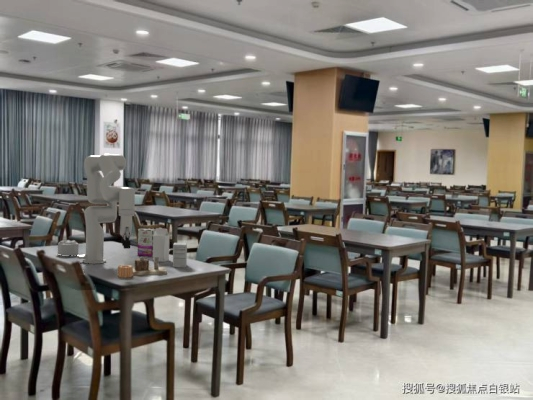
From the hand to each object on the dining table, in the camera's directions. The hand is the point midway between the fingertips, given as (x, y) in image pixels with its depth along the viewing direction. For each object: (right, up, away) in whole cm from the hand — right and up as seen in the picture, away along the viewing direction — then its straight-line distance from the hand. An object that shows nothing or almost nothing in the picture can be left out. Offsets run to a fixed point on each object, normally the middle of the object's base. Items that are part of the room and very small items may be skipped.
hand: (126, 247), depth 264 cm
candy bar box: (-4, -11, +62) cm, 64 cm away
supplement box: (+21, -14, +33) cm, 42 cm away
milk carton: (+8, -12, +47) cm, 50 cm away
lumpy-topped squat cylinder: (-50, -10, +56) cm, 76 cm away
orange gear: (-1, -15, +1) cm, 15 cm away
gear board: (+8, -14, +13) cm, 21 cm away
